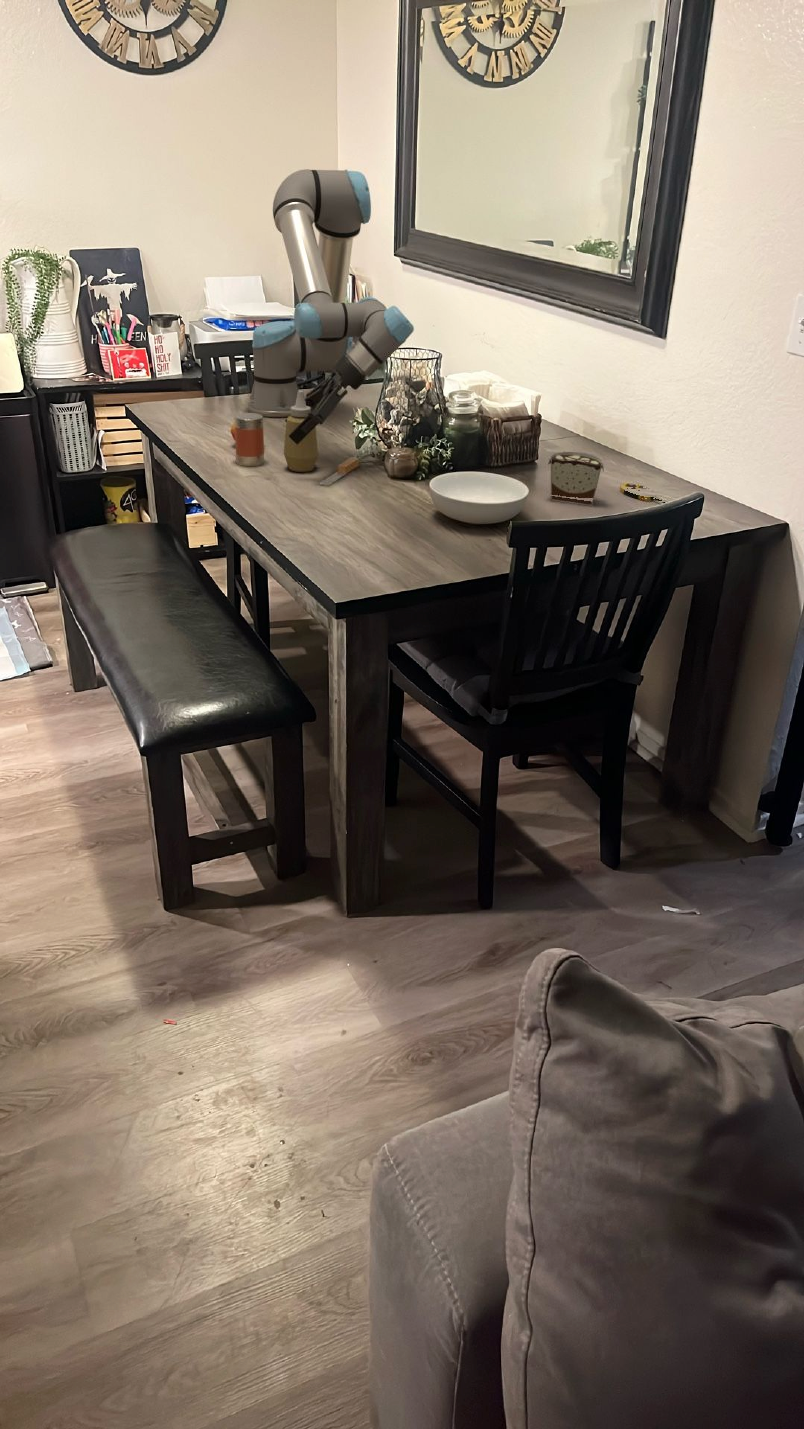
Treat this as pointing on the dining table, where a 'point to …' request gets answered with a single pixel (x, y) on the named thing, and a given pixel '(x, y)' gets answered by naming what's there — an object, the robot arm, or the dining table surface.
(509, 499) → the serving bowl
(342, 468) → the knife
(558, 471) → the food container
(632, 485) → the overripe banana
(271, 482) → the dining table surface
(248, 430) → the tin can
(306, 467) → the squeeze bottle
